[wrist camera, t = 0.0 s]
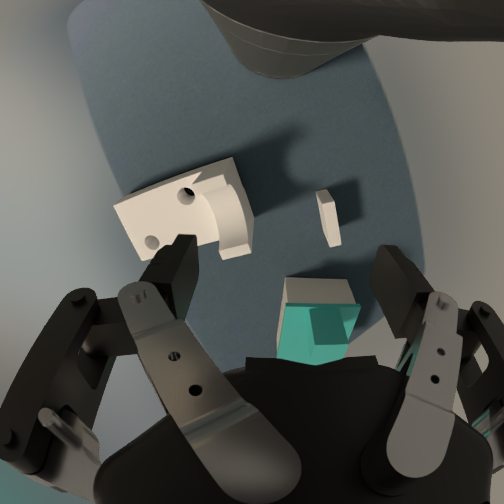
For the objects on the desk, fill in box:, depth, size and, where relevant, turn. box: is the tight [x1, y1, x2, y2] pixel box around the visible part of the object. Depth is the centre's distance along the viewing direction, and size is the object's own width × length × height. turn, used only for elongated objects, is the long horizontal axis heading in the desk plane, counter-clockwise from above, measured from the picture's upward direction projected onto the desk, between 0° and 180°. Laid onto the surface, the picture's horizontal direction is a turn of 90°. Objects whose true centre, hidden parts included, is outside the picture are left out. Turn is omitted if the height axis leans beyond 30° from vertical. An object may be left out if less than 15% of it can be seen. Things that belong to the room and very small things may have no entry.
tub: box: [277, 277, 356, 351], centre depth 34 cm, size 11×8×5 cm
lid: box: [276, 303, 361, 365], centre depth 30 cm, size 12×9×6 cm
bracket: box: [114, 157, 254, 261], centre depth 26 cm, size 13×7×8 cm, turn 107°
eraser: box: [315, 189, 341, 247], centre depth 27 cm, size 1×5×4 cm, turn 17°
